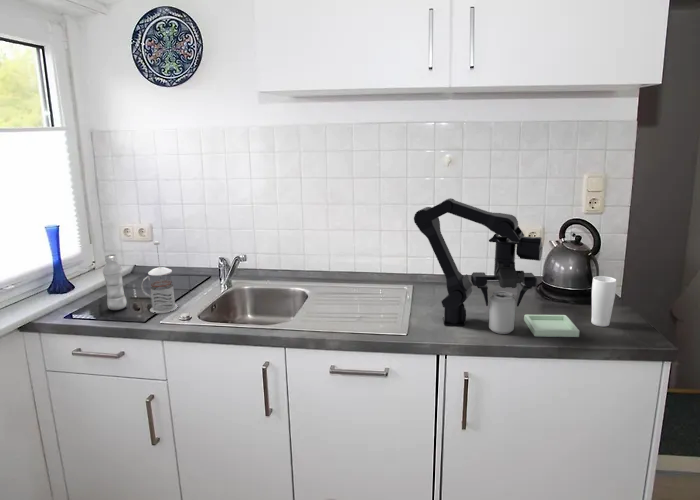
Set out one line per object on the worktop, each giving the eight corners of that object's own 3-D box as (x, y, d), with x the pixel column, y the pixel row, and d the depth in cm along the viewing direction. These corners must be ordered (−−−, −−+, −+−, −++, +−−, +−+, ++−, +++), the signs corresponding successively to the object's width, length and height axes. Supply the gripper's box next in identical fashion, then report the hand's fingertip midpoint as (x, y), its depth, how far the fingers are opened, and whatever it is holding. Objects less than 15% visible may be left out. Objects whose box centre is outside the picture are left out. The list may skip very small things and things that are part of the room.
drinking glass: (583, 322, 167) (587, 277, 163) (599, 318, 169) (604, 274, 165) (600, 329, 160) (605, 283, 157) (617, 326, 163) (622, 280, 159)
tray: (534, 336, 157) (534, 330, 156) (524, 320, 169) (524, 314, 169) (578, 337, 155) (579, 330, 155) (565, 320, 168) (565, 315, 168)
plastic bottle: (128, 304, 192) (121, 252, 187) (126, 311, 186) (119, 256, 181) (109, 307, 190) (101, 254, 185) (106, 313, 184) (99, 258, 179)
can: (483, 327, 164) (485, 291, 161) (503, 324, 166) (505, 288, 164) (498, 336, 157) (500, 299, 154) (518, 332, 160) (521, 295, 157)
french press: (177, 311, 184) (170, 243, 178) (142, 315, 181) (133, 245, 175) (179, 302, 193) (172, 237, 187) (146, 305, 191) (138, 239, 185)
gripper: (477, 264, 149) (475, 315, 153) (544, 264, 147) (540, 315, 151) (471, 254, 160) (469, 302, 164) (534, 254, 158) (530, 302, 162)
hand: (502, 305), depth 160 cm, fingers open, 9 cm apart
